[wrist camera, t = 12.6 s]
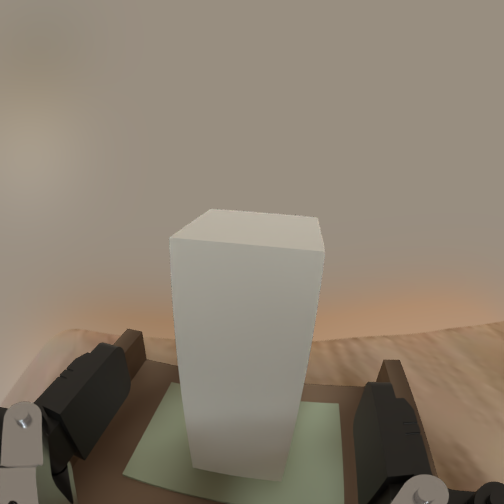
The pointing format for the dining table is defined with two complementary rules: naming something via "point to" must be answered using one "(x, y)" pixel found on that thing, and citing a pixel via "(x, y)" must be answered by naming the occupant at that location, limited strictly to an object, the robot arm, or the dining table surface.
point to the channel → (211, 483)
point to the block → (244, 334)
